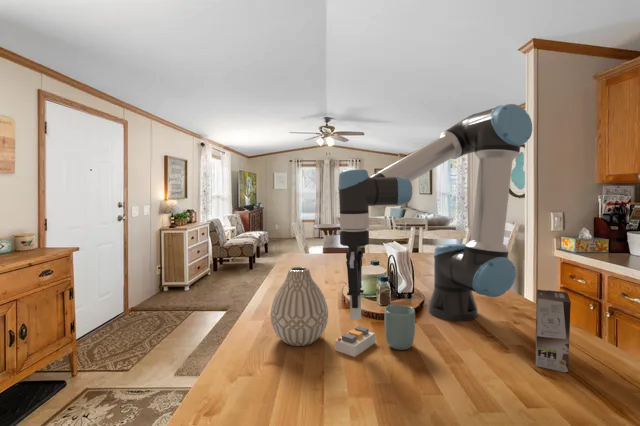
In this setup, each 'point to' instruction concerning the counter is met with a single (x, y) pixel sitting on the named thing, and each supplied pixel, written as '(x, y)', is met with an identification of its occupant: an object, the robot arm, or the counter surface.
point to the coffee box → (552, 330)
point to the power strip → (355, 341)
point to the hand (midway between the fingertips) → (355, 318)
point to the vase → (299, 309)
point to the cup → (399, 326)
